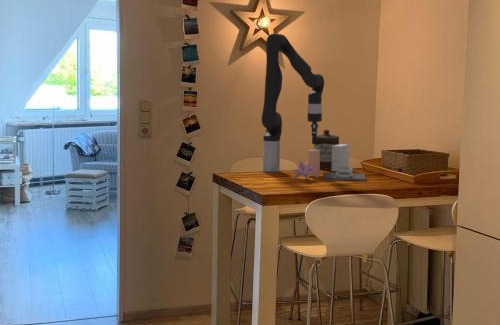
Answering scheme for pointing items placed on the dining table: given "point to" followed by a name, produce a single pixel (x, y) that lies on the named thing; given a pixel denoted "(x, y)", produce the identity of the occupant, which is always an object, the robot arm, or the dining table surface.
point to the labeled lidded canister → (326, 148)
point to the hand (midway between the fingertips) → (314, 143)
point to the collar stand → (344, 175)
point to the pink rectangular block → (314, 162)
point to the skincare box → (340, 156)
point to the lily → (303, 170)
